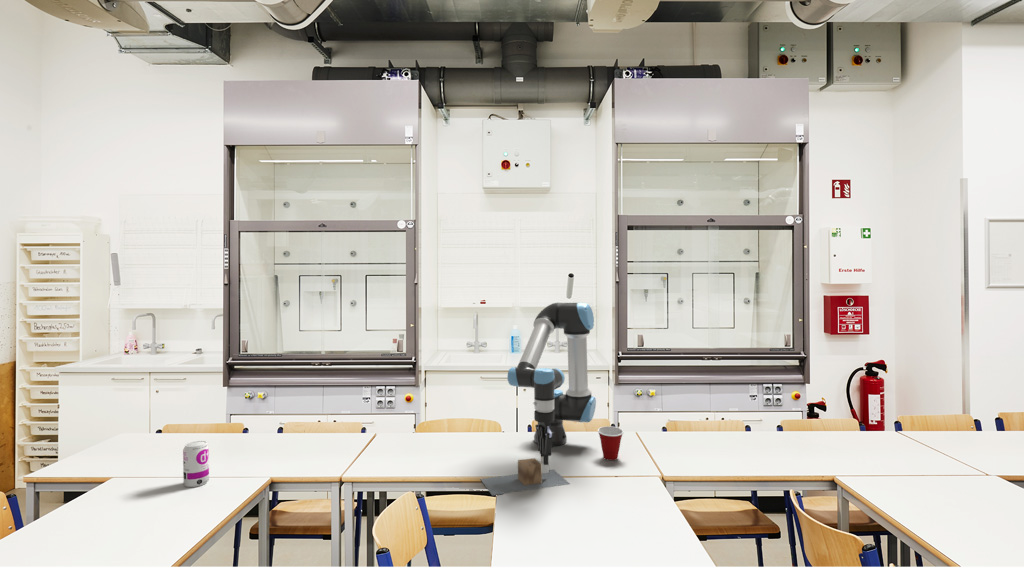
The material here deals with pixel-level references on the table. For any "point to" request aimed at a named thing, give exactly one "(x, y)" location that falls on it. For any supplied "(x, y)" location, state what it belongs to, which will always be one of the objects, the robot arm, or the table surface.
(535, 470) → the light wooden block
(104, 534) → the table surface
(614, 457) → the plastic cup
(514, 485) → the rubber mat
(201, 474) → the supplement can
